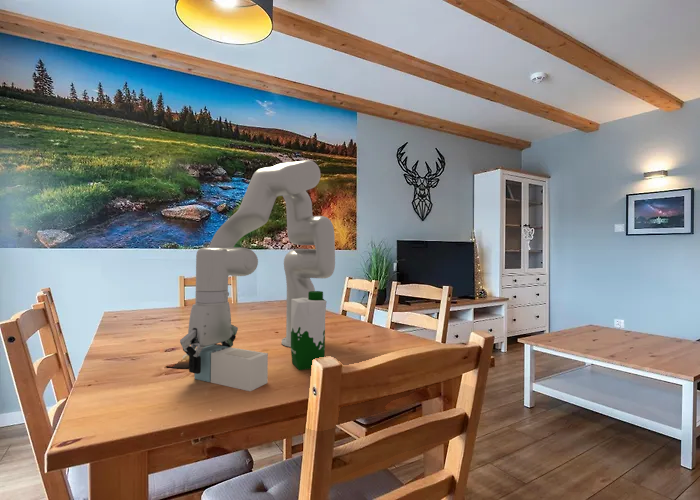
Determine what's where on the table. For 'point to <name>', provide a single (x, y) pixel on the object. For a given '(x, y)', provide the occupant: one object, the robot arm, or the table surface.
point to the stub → (207, 362)
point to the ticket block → (239, 368)
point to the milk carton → (307, 329)
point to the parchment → (185, 363)
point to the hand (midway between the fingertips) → (210, 367)
